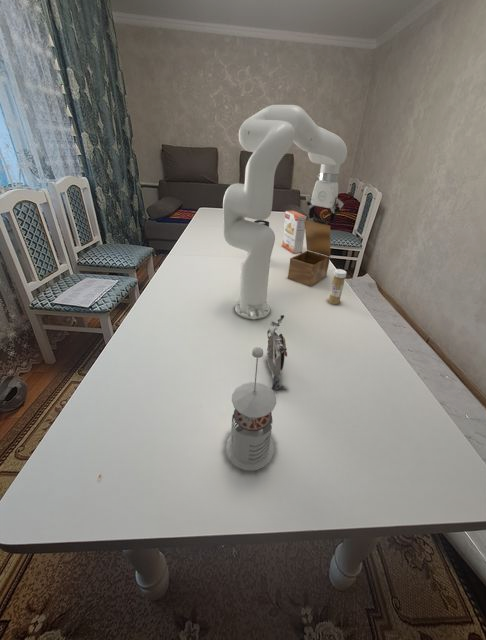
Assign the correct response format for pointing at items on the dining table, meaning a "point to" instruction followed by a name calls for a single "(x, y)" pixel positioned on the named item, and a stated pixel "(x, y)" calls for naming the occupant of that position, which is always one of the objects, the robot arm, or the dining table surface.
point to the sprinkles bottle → (337, 286)
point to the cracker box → (294, 231)
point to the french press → (252, 424)
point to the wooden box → (308, 268)
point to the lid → (318, 237)
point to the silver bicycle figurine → (276, 353)
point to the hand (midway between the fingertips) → (320, 220)
